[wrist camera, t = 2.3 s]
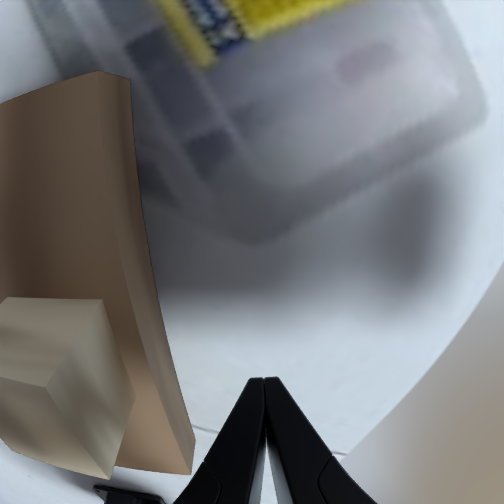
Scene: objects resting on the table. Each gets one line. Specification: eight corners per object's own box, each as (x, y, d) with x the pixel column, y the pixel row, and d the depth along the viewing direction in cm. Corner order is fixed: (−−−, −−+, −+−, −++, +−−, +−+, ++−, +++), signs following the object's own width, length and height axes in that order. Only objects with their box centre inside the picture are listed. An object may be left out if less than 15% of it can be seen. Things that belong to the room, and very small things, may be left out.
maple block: (136, 396, 11) (109, 479, 7) (47, 384, 11) (11, 450, 8) (102, 299, 9) (45, 386, 6) (7, 296, 9) (-53, 360, 6)
